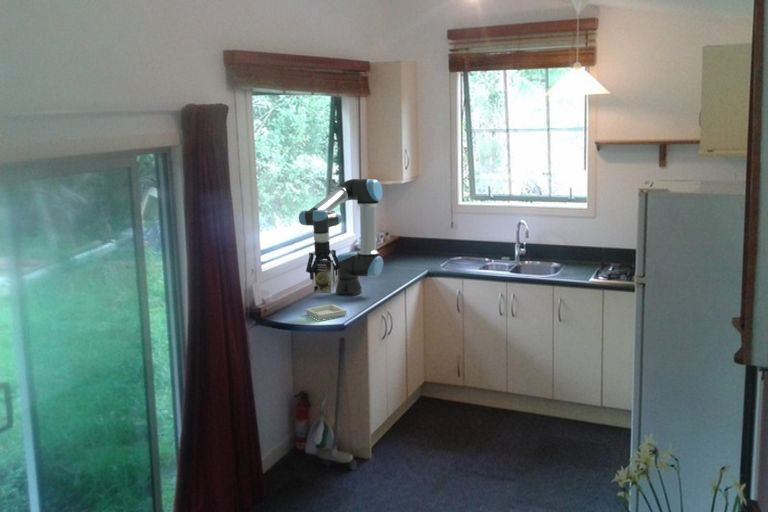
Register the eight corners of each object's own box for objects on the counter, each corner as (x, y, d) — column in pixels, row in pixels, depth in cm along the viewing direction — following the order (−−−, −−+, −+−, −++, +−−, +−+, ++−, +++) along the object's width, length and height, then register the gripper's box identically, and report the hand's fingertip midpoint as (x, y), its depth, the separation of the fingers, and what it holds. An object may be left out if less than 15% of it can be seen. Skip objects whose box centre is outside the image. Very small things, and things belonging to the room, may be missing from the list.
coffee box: (313, 293, 373) (312, 261, 370) (317, 290, 379) (316, 259, 377) (331, 293, 372) (330, 261, 369) (334, 290, 378) (333, 259, 375)
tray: (333, 309, 388) (332, 304, 388) (346, 315, 375) (346, 310, 375) (306, 314, 381) (305, 308, 380) (318, 321, 368) (318, 315, 367)
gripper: (339, 237, 380) (341, 279, 384) (297, 242, 368) (300, 286, 373) (345, 239, 373) (348, 281, 377) (303, 244, 362) (306, 288, 366)
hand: (324, 284), depth 375 cm, fingers closed on coffee box, 11 cm apart
